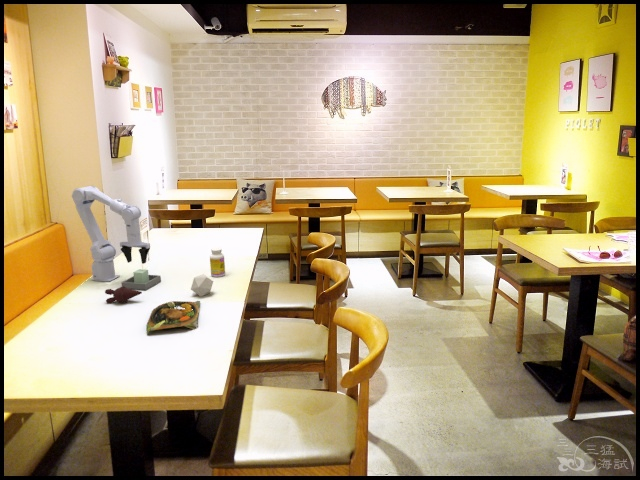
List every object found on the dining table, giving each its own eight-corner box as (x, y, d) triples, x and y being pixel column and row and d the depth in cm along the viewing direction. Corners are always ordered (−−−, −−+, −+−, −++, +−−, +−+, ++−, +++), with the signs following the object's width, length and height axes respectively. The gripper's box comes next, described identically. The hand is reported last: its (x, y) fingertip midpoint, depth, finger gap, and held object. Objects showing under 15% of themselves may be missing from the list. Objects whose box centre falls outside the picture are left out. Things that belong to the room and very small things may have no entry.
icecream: (144, 283, 205) (108, 287, 205) (137, 284, 198) (100, 289, 198) (145, 299, 205) (110, 303, 205) (139, 301, 198) (102, 306, 198)
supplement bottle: (222, 277, 230) (220, 251, 227) (208, 277, 231) (206, 250, 228) (227, 273, 237) (225, 247, 233) (214, 272, 238) (212, 247, 235)
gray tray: (122, 288, 218) (121, 282, 217) (138, 280, 229) (137, 274, 229) (145, 290, 215) (145, 284, 214) (161, 281, 226) (160, 275, 226)
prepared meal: (153, 299, 196) (199, 294, 199) (154, 307, 197) (200, 302, 200) (143, 330, 170) (197, 323, 173) (145, 339, 171) (198, 332, 174)
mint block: (134, 285, 221) (133, 272, 219) (140, 281, 225) (139, 269, 224) (143, 285, 220) (142, 272, 218) (149, 282, 224) (147, 269, 222)
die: (204, 290, 216) (189, 275, 211) (219, 282, 213) (204, 266, 208) (199, 303, 209) (183, 288, 204) (215, 295, 206) (199, 279, 201)
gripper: (152, 232, 223) (155, 261, 227) (125, 230, 227) (128, 259, 230) (143, 236, 217) (146, 265, 220) (115, 234, 221) (118, 263, 224)
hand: (136, 262), depth 225 cm, fingers open, 7 cm apart
